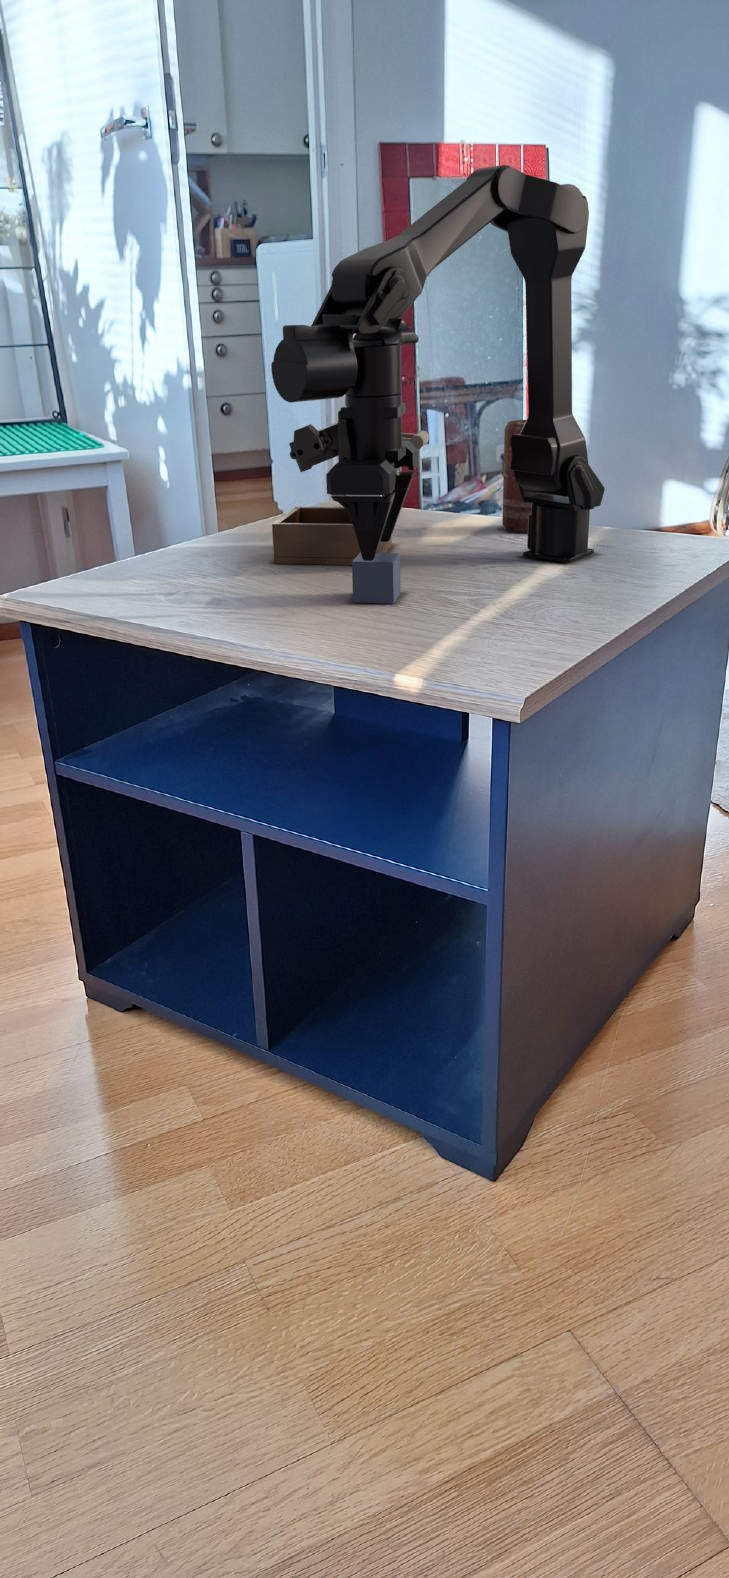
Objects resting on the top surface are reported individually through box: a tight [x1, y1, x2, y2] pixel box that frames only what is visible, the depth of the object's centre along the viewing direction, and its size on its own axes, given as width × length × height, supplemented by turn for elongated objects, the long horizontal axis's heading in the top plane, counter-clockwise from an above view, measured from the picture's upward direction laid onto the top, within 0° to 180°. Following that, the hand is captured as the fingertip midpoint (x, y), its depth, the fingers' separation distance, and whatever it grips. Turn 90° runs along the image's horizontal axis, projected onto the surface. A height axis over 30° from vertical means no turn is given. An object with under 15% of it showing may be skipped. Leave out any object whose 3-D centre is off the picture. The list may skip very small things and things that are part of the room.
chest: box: [271, 506, 393, 566], centre depth 139 cm, size 13×12×5 cm
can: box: [501, 419, 533, 534], centre depth 148 cm, size 6×6×14 cm
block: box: [351, 552, 402, 605], centre depth 119 cm, size 4×4×4 cm
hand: (376, 550), depth 118 cm, fingers open, 9 cm apart
